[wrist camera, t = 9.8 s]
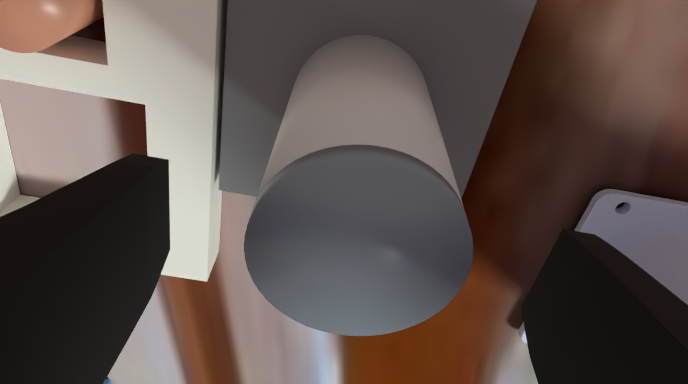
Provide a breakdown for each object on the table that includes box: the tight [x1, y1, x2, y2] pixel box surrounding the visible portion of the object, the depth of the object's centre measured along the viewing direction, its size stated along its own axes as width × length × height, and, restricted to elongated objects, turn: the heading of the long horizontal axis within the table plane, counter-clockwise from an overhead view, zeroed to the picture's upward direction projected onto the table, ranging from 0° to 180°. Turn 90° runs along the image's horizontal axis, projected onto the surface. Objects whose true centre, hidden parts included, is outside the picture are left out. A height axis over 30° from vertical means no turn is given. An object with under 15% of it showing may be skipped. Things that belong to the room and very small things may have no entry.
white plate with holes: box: [0, 0, 228, 282], centre depth 15 cm, size 10×12×2 cm
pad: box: [219, 0, 537, 199], centre depth 15 cm, size 8×8×2 cm
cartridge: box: [244, 35, 473, 336], centre depth 11 cm, size 4×4×7 cm
